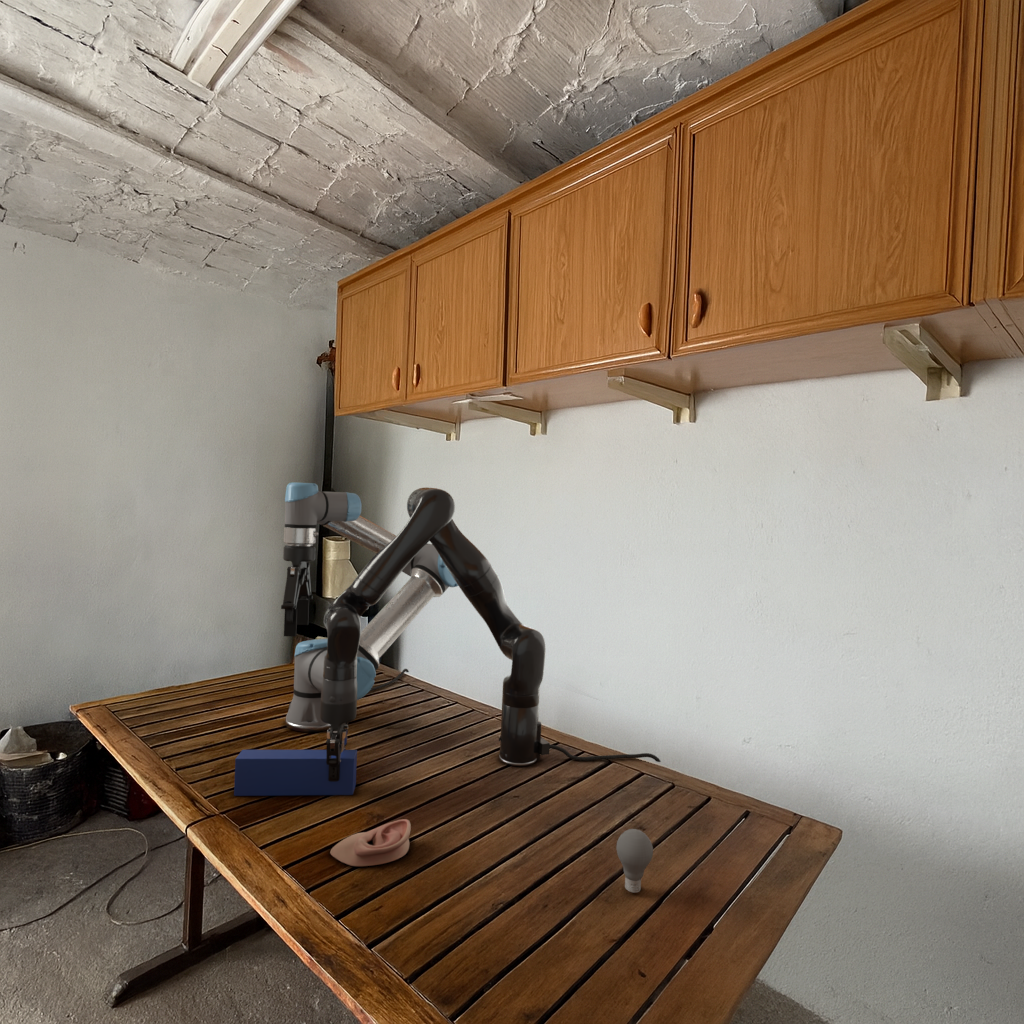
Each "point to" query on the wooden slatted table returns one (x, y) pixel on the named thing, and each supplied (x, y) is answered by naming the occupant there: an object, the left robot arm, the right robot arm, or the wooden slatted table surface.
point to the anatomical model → (374, 845)
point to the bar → (292, 773)
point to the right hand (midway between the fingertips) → (336, 774)
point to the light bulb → (634, 857)
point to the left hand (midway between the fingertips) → (296, 630)
